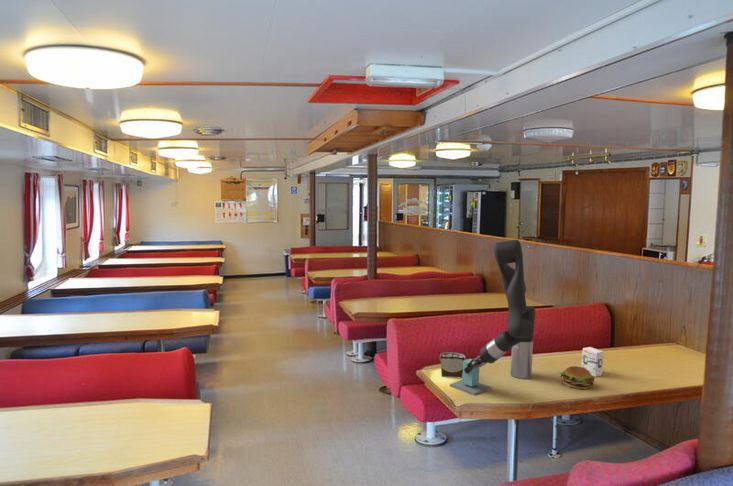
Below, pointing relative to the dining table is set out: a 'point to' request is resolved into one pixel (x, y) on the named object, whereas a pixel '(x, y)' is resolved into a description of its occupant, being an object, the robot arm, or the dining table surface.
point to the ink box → (592, 360)
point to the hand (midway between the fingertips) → (469, 370)
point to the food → (577, 377)
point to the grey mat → (470, 387)
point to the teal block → (470, 375)
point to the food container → (452, 364)
